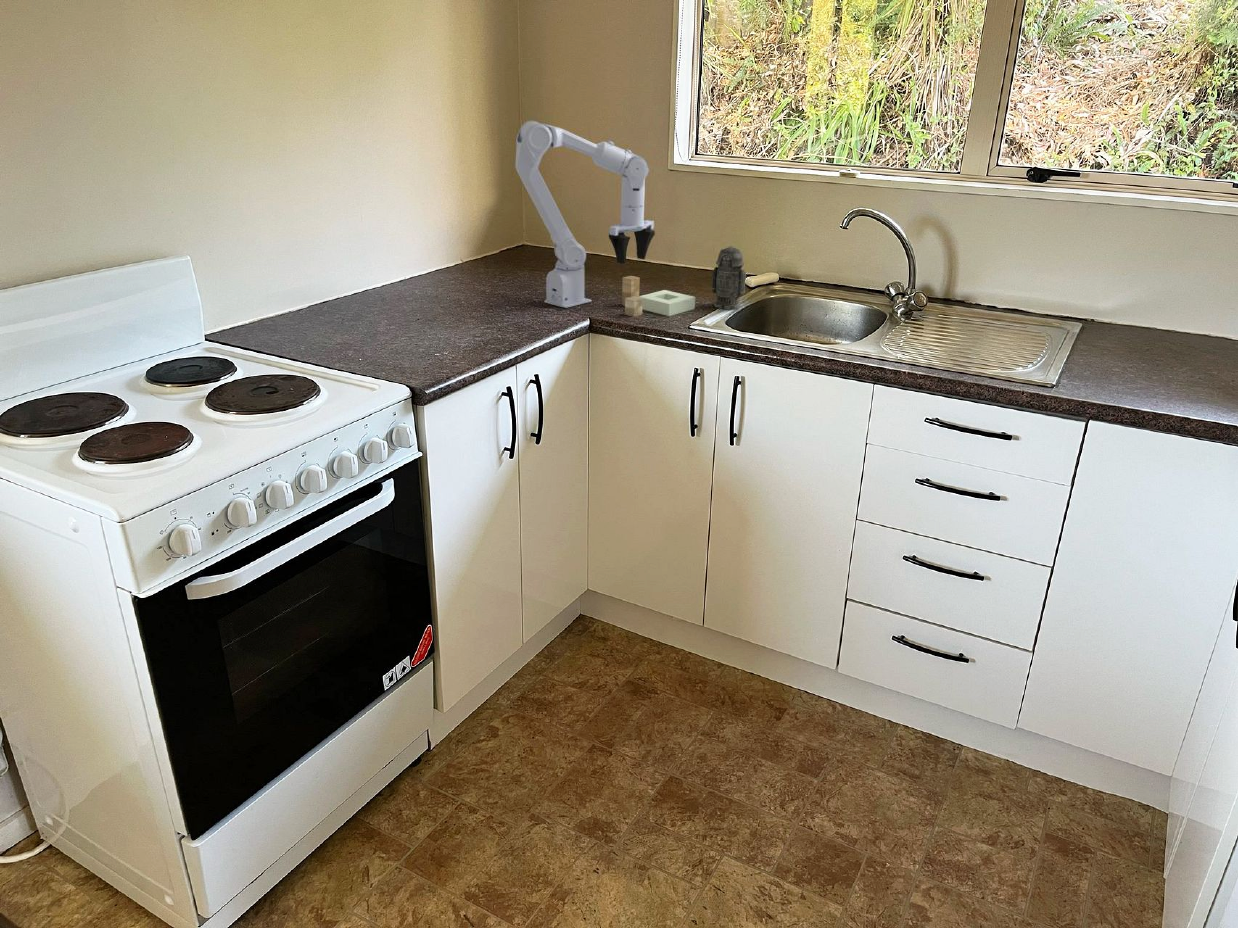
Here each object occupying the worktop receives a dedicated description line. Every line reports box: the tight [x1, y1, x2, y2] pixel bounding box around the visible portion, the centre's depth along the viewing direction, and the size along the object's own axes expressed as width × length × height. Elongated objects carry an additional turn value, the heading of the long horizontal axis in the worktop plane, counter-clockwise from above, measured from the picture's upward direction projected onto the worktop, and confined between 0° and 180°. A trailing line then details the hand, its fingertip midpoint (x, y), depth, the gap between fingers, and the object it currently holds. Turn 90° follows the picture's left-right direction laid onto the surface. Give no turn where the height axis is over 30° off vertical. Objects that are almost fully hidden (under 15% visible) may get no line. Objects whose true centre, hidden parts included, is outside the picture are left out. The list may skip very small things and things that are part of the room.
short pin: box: [624, 296, 643, 318], centre depth 224 cm, size 3×3×4 cm
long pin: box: [621, 275, 641, 307], centre depth 231 cm, size 3×3×7 cm
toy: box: [711, 245, 747, 310], centre depth 230 cm, size 8×6×15 cm
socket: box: [638, 289, 696, 317], centre depth 230 cm, size 10×10×3 cm
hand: (631, 260), depth 234 cm, fingers open, 7 cm apart
